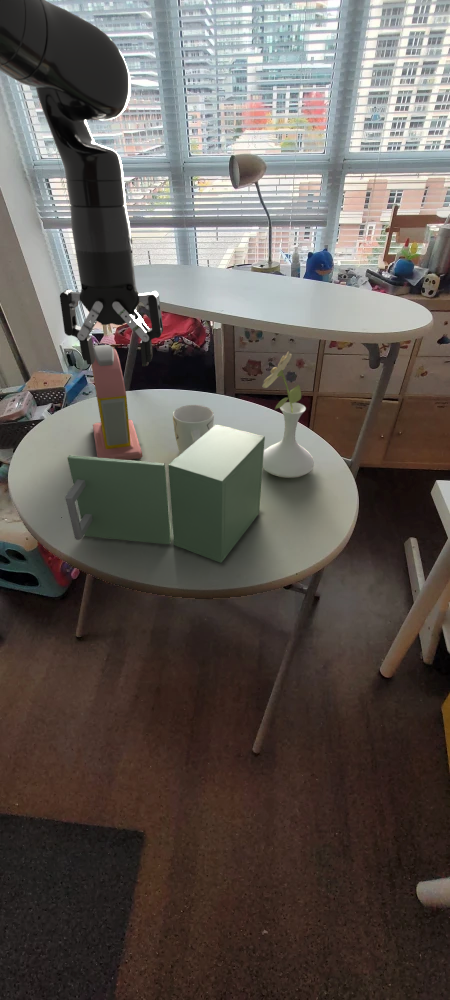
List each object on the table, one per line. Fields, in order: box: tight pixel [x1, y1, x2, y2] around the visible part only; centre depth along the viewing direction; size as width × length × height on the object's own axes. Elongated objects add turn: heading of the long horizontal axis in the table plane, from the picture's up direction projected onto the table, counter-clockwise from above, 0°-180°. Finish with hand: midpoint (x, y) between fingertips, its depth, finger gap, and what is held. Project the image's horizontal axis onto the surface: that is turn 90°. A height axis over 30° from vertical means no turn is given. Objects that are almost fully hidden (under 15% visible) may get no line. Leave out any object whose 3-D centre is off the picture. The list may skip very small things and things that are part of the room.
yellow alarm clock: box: [91, 344, 143, 461], centre depth 97 cm, size 22×9×22 cm, turn 17°
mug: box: [172, 404, 215, 455], centre depth 95 cm, size 11×8×10 cm
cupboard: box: [167, 424, 266, 564], centre depth 75 cm, size 9×15×16 cm, turn 152°
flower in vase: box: [261, 351, 315, 479], centre depth 88 cm, size 13×11×25 cm
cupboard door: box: [64, 454, 172, 546], centre depth 70 cm, size 6×15×16 cm, turn 82°
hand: (118, 363), depth 71 cm, fingers open, 8 cm apart
